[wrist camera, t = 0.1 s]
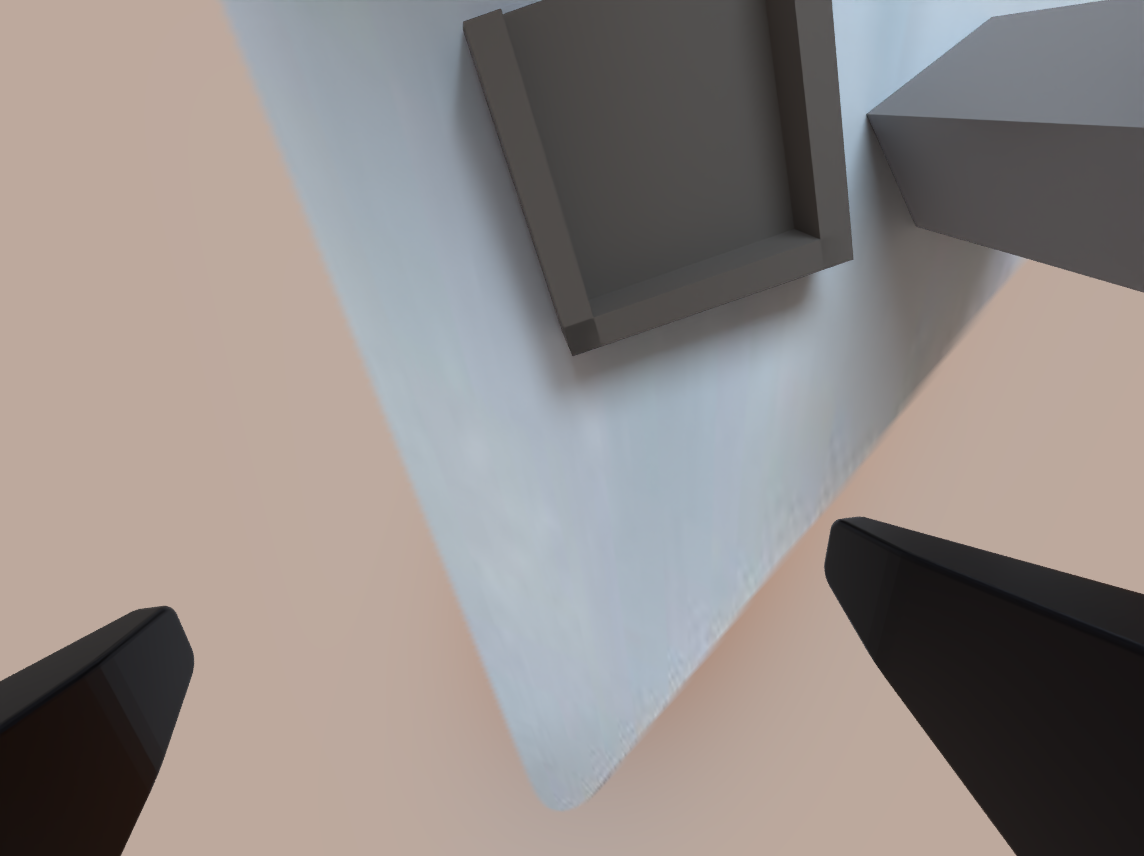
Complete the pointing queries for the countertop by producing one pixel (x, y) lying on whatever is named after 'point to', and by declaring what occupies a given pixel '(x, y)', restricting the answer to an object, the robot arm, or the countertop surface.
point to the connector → (1031, 139)
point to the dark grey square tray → (668, 151)
